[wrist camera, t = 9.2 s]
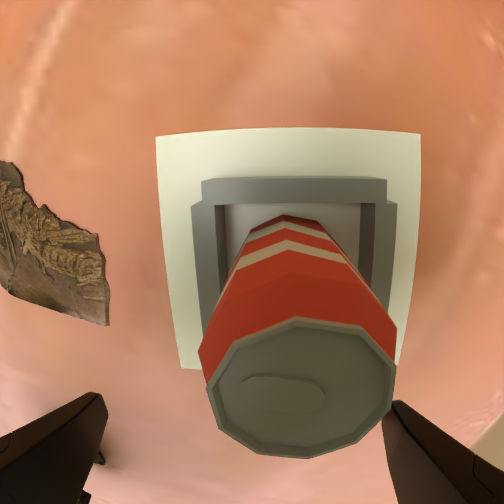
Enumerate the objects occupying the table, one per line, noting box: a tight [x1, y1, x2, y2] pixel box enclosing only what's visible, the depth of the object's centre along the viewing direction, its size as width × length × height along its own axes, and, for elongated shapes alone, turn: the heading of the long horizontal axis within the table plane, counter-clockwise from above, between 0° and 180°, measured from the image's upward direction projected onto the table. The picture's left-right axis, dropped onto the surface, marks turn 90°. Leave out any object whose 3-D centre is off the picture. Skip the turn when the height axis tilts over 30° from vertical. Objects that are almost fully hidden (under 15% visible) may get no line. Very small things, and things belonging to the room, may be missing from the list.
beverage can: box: [198, 214, 397, 459], centre depth 13 cm, size 6×6×12 cm
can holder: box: [156, 127, 421, 370], centre depth 18 cm, size 16×16×4 cm
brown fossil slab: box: [0, 161, 110, 326], centre depth 21 cm, size 26×11×1 cm, turn 55°
